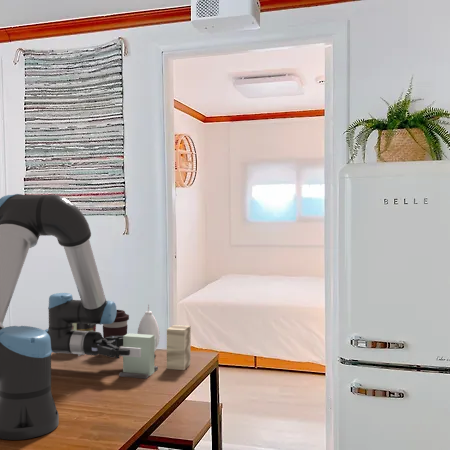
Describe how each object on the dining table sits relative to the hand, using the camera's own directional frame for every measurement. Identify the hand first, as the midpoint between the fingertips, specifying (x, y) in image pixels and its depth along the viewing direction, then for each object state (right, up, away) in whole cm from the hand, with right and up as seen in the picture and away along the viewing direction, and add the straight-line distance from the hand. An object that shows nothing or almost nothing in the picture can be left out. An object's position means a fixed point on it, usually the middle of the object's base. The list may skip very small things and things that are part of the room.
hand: (148, 347), depth 171 cm
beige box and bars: (+2, -8, +4) cm, 9 cm away
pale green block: (-3, -8, +1) cm, 9 cm away
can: (-29, -8, +31) cm, 43 cm away
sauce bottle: (-4, -8, +24) cm, 25 cm away
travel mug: (-16, -8, +26) cm, 31 cm away
